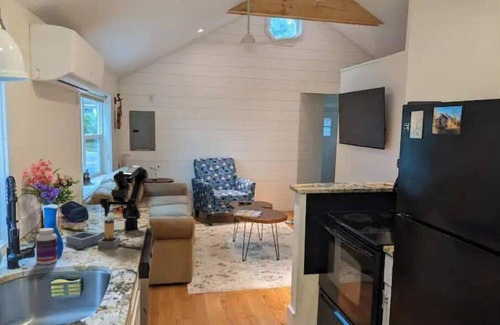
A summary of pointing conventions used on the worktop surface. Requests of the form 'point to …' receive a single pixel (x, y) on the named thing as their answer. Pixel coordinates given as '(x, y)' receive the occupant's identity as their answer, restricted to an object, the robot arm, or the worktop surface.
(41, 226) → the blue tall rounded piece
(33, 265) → the worktop surface
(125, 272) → the worktop surface
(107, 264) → the worktop surface
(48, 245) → the pill bottle
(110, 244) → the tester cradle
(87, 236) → the bin
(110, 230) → the jumbo cell
